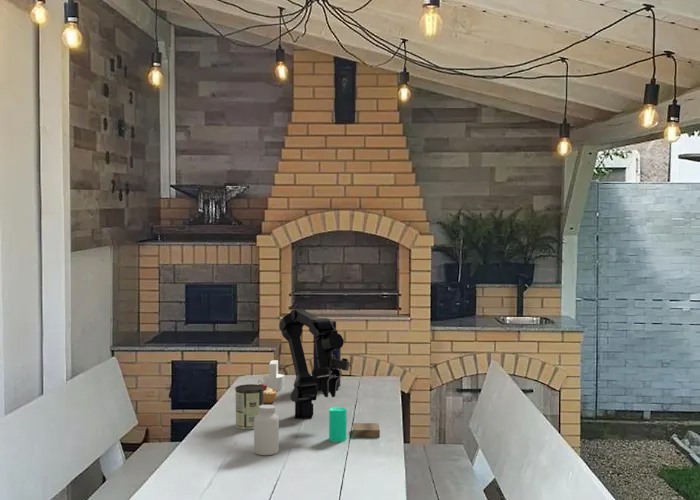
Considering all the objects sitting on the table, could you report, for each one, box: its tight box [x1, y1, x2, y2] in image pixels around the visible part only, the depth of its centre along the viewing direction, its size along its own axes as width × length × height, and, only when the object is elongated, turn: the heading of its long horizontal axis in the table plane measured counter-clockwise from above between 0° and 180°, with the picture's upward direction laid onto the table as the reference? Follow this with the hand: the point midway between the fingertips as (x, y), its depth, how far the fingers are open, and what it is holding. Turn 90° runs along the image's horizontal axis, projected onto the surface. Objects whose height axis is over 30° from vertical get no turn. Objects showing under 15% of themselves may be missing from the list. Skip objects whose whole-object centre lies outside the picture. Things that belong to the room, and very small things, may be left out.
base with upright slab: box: [262, 359, 285, 392], centre depth 349 cm, size 9×9×12 cm
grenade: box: [312, 320, 342, 391], centre depth 350 cm, size 14×12×30 cm
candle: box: [328, 406, 347, 443], centre depth 274 cm, size 6×6×12 cm
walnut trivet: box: [352, 422, 381, 438], centre depth 281 cm, size 9×9×2 cm
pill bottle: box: [253, 404, 280, 456], centre depth 258 cm, size 8×8×15 cm
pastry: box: [257, 379, 277, 405], centre depth 325 cm, size 12×12×9 cm
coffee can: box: [234, 383, 264, 430], centre depth 290 cm, size 10×10×14 cm
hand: (330, 397), depth 285 cm, fingers open, 9 cm apart
